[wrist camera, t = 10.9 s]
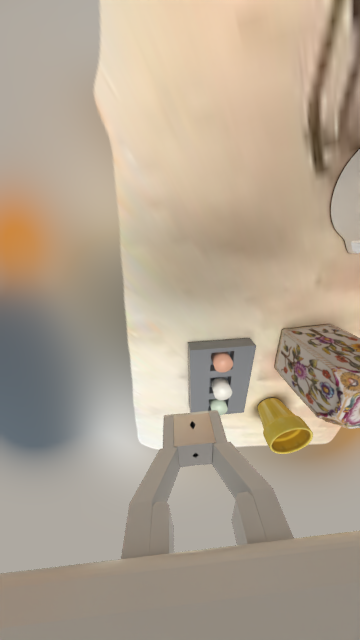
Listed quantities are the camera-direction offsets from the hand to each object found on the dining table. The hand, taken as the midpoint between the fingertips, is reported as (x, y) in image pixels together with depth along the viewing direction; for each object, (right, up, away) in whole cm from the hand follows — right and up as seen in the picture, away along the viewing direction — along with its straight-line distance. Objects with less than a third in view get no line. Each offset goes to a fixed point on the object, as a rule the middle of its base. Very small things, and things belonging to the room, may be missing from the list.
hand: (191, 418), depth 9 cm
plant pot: (+25, -19, +39) cm, 50 cm away
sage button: (+9, -15, +34) cm, 39 cm away
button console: (+9, -8, +33) cm, 35 cm away
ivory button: (+9, -10, +30) cm, 33 cm away
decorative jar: (+28, -1, +31) cm, 42 cm away
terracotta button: (+8, -3, +28) cm, 30 cm away
